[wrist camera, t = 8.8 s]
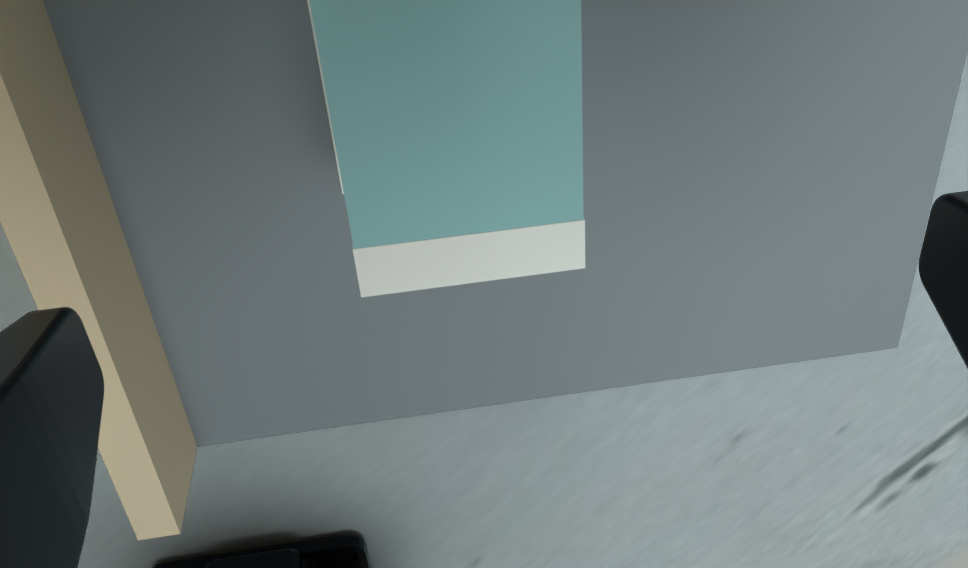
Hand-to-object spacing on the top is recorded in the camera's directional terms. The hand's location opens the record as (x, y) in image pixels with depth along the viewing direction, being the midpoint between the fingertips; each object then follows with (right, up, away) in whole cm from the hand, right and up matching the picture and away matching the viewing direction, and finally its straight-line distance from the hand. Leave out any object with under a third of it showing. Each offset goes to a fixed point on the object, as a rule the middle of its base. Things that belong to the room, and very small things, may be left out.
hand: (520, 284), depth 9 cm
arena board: (0, +4, +11) cm, 12 cm away
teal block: (-1, +6, +9) cm, 11 cm away
